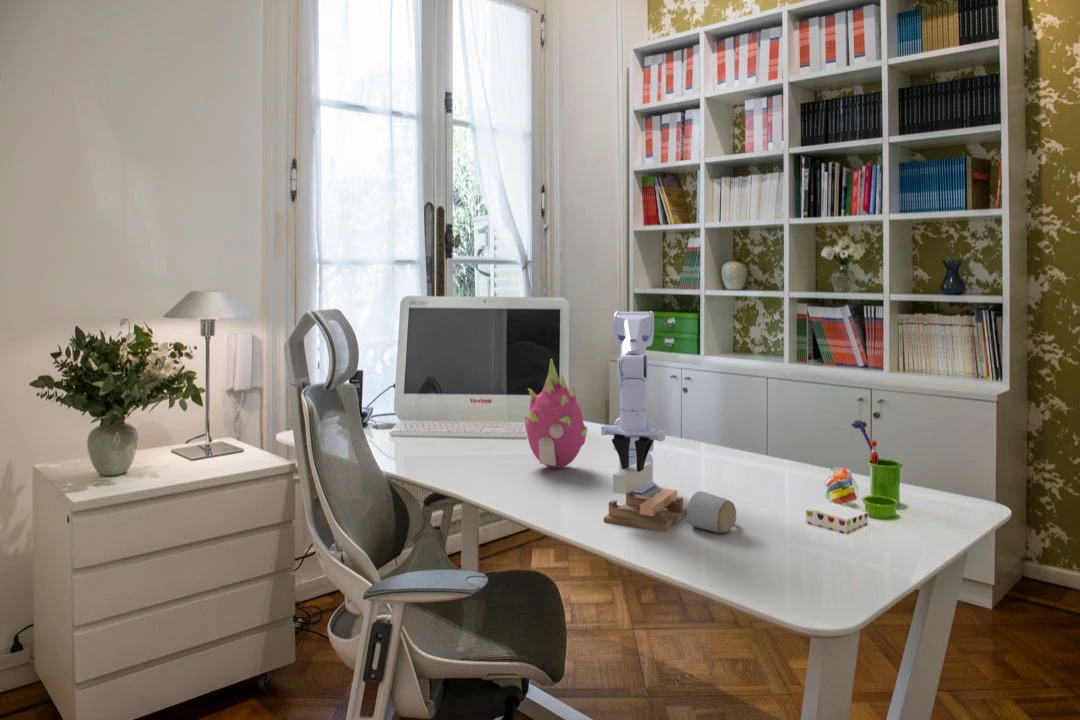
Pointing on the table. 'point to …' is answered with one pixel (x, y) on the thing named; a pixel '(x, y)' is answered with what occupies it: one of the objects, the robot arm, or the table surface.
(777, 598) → the table surface
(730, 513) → the grey cylinder
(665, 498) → the fired strip
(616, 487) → the pale grey bar
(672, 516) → the slotted wooden stand
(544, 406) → the pink dragon fruit
